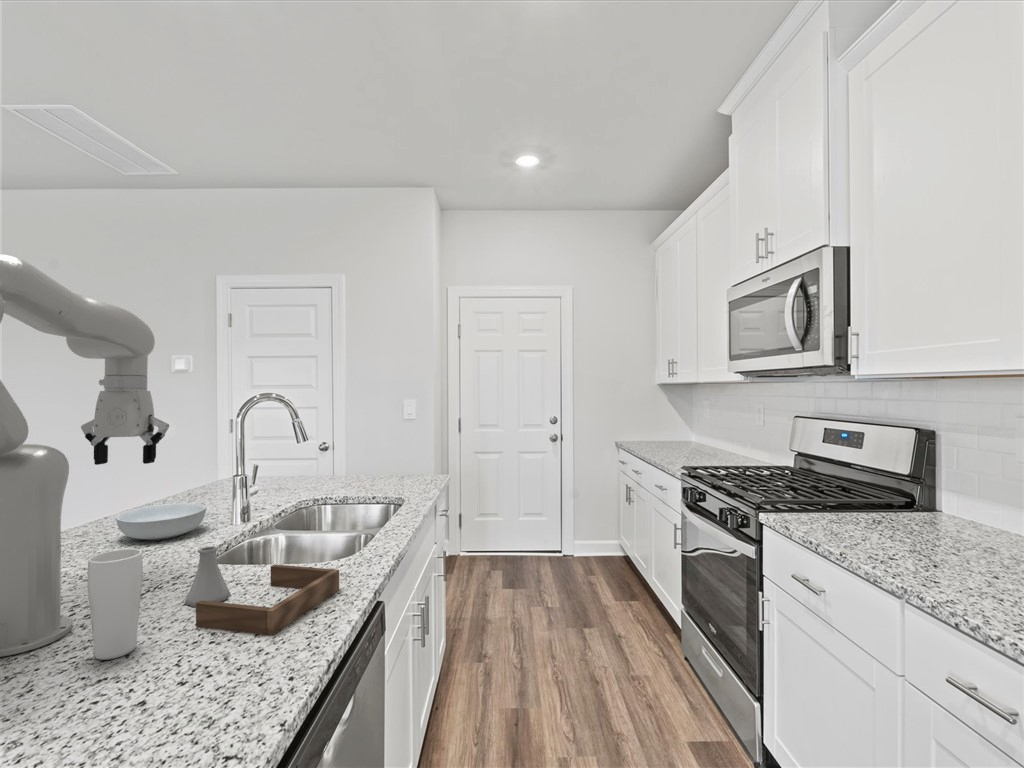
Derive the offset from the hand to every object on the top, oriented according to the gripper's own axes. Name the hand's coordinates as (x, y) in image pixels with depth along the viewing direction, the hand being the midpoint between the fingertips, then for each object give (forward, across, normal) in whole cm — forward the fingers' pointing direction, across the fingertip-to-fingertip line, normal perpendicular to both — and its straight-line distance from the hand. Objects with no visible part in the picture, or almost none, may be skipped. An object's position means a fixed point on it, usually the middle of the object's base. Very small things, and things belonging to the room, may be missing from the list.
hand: (125, 463), depth 112 cm
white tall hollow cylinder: (+26, +19, -34) cm, 47 cm away
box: (+25, +37, -19) cm, 49 cm away
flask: (+25, +24, -14) cm, 38 cm away
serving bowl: (+24, -10, +34) cm, 43 cm away
